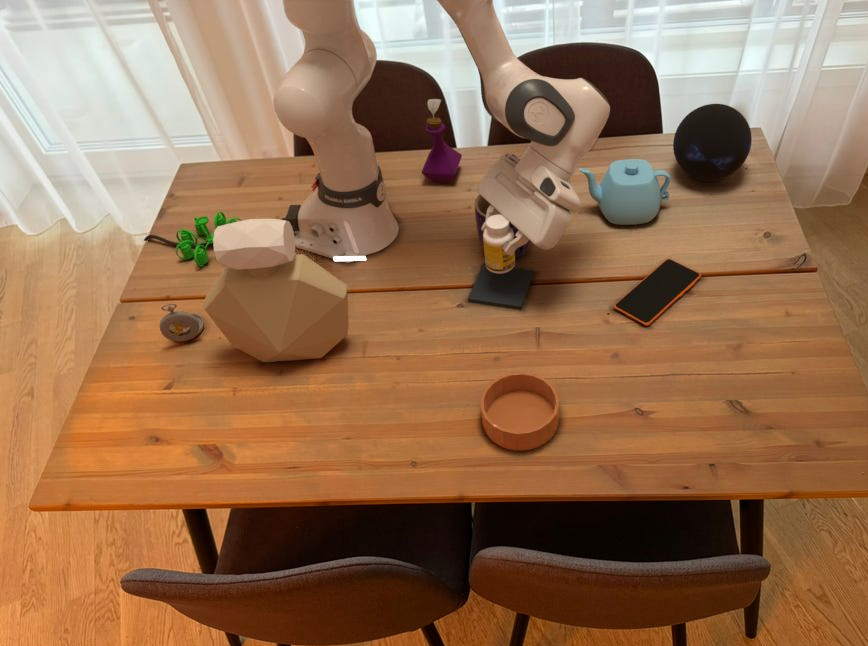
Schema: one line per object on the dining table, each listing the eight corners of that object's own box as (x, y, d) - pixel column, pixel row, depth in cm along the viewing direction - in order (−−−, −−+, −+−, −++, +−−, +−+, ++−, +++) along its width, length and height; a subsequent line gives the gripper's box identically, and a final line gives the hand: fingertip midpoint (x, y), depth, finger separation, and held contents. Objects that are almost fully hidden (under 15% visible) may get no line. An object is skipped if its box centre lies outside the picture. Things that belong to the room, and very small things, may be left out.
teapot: (576, 149, 148) (669, 143, 146) (575, 193, 156) (663, 189, 154) (581, 186, 140) (679, 181, 138) (579, 231, 148) (672, 227, 146)
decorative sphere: (669, 153, 162) (677, 89, 151) (741, 154, 160) (755, 89, 149) (669, 195, 153) (678, 129, 142) (746, 197, 150) (761, 130, 139)
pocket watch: (204, 313, 142) (184, 273, 134) (206, 339, 137) (186, 300, 129) (168, 322, 141) (147, 283, 133) (170, 350, 136) (147, 310, 128)
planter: (536, 264, 142) (535, 217, 134) (479, 268, 143) (474, 222, 135) (532, 228, 150) (531, 181, 141) (478, 232, 150) (473, 186, 142)
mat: (468, 301, 137) (467, 298, 137) (483, 266, 143) (483, 263, 143) (521, 309, 135) (520, 306, 134) (534, 273, 141) (534, 270, 140)
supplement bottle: (506, 278, 132) (503, 234, 125) (480, 269, 135) (475, 226, 127) (520, 260, 135) (518, 216, 128) (495, 251, 137) (491, 208, 130)
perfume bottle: (456, 187, 161) (447, 111, 148) (423, 185, 163) (411, 110, 149) (463, 167, 166) (455, 92, 153) (431, 165, 168) (420, 91, 154)
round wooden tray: (473, 442, 116) (471, 425, 113) (494, 384, 123) (492, 366, 120) (549, 457, 113) (549, 440, 110) (565, 397, 120) (566, 379, 117)
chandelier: (194, 281, 148) (181, 254, 143) (167, 245, 157) (154, 218, 152) (262, 248, 153) (251, 221, 148) (232, 214, 162) (221, 188, 157)
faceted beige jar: (235, 330, 138) (178, 206, 117) (363, 319, 137) (329, 192, 116) (222, 379, 130) (158, 256, 109) (358, 369, 128) (321, 242, 108)
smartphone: (612, 308, 132) (612, 305, 132) (667, 260, 139) (667, 257, 139) (647, 328, 128) (647, 324, 128) (702, 277, 136) (703, 274, 135)
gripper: (496, 141, 130) (453, 208, 135) (565, 197, 118) (516, 268, 122) (518, 154, 135) (476, 218, 139) (587, 209, 122) (539, 278, 127)
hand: (495, 242), depth 131 cm, fingers closed on supplement bottle, 5 cm apart
